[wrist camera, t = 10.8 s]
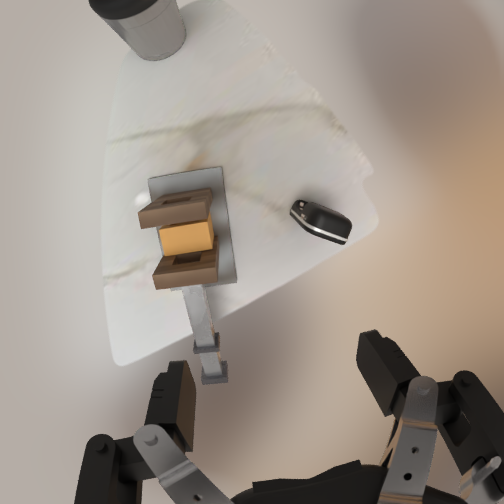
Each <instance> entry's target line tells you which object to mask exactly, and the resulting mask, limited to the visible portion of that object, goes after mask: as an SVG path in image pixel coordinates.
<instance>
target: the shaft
mask: <svg viewBox="0 0 504 504" xmlns="http://www.w3.org/2000/svg"><path fill="white" fill-rule="evenodd" d="M196 262H200V261H196ZM188 263H193V262H188ZM181 264H185V263H181ZM181 288H182V292H183V296H184V300H185V304H186V308H187V312H188V316H189V319H190V323H191V327H192V330H193V334H194V338H195V341H194V349H193V351H194V353H195V354H199V355H200V358H201V362H202V377H201V381H202V384H203V385H205V384H217V383H227V382H228V365H227V361H221V357H220V353H219V351H220V336H219V332H218V333H215V332H214V327H213V323H212V318H211V314H210V309H209V305H208V300H207V295H206V290H205V285H204V284H200V285H192V286H184V287H181Z"/></svg>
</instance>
